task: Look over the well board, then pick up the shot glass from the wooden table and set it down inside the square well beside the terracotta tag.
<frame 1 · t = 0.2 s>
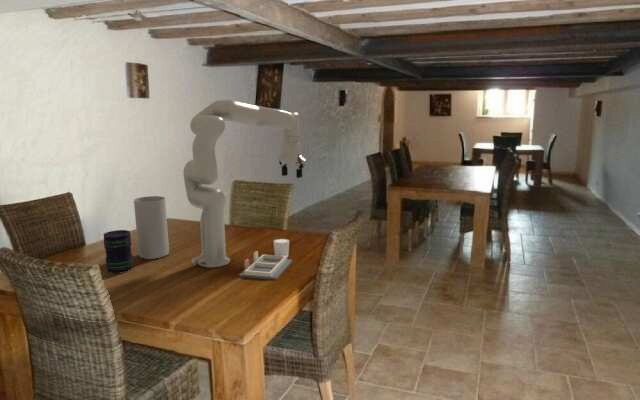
hand: (291, 176, 218), 31 cm above the table, tool pointing down, fingers open, 9 cm apart
well board: (266, 268, 185), on the table
shot glass: (281, 256, 201), on the table
cylinder vase: (154, 255, 203), on the table
storage jar: (120, 270, 185), on the table
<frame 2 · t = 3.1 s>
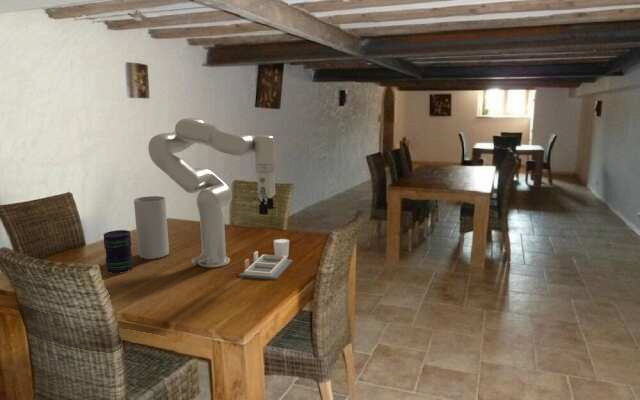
hand: (266, 211, 182), 23 cm above the table, tool pointing down, fingers open, 9 cm apart
nothing on the table moved.
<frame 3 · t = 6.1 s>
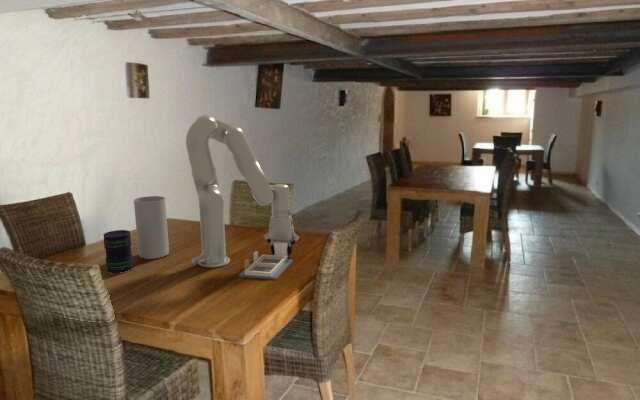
hand: (281, 253, 200), 1 cm above the table, tool pointing down, fingers closed on shot glass, 6 cm apart
shot glass: (281, 256, 201), on the table, touching gripper
everything else where it was.
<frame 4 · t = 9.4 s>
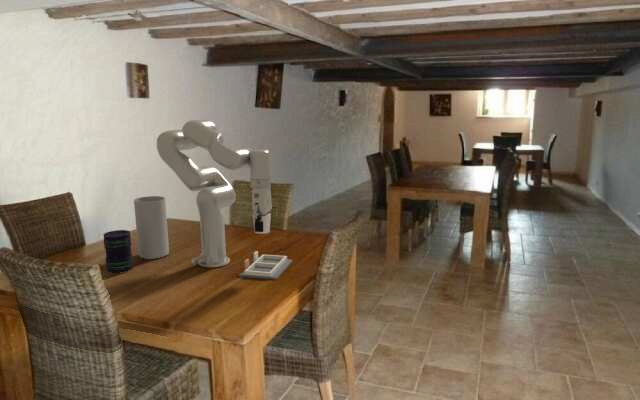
hand: (262, 228, 178), 18 cm above the table, tool pointing down, fingers closed on shot glass, 6 cm apart
shot glass: (262, 232, 178), point 16 cm above the table, touching gripper
everything else where it was.
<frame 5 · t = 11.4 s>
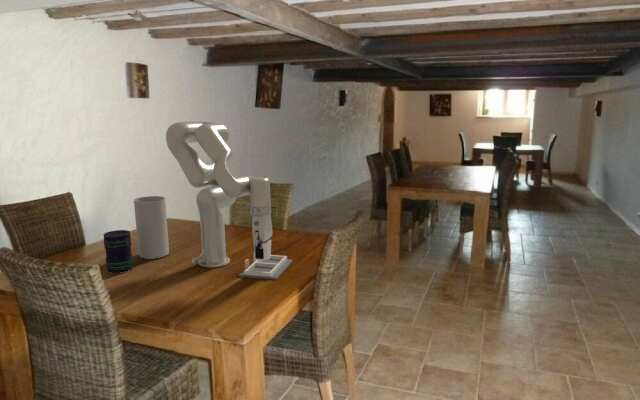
hand: (262, 255, 179), 7 cm above the table, tool pointing down, fingers closed on shot glass, 6 cm apart
shot glass: (263, 258, 179), point 6 cm above the table, touching gripper
everything else where it was.
when the fingers open (4 cm above the table, at t = 12.6 s): shot glass drops 2 cm, resting on well board.
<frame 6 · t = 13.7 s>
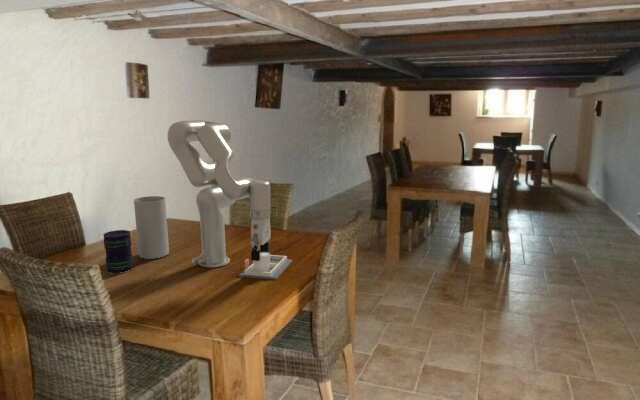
hand: (260, 256, 180), 7 cm above the table, tool pointing down, fingers open, 9 cm apart
shot glass: (261, 272, 180), point 1 cm above the table, touching gripper, well board
everything else where it was.
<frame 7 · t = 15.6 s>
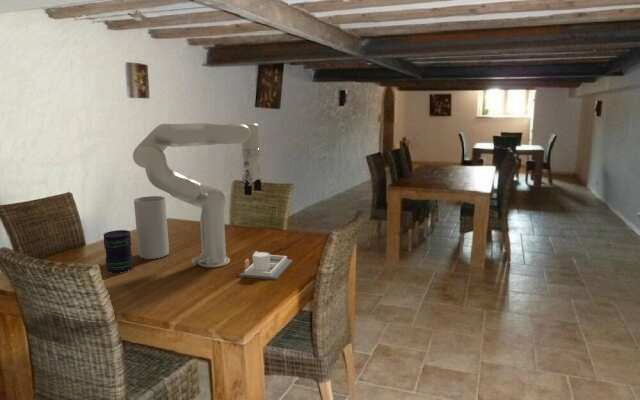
hand: (253, 192, 200), 27 cm above the table, tool pointing down, fingers open, 9 cm apart
shot glass: (261, 272, 180), point 1 cm above the table, touching well board
everything else where it was.
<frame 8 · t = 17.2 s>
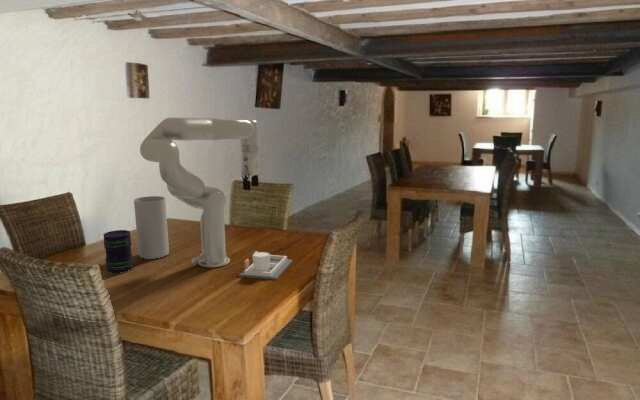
hand: (251, 187, 204), 28 cm above the table, tool pointing down, fingers open, 9 cm apart
nothing on the table moved.
at the end: shot glass 0.7 cm from the target spot on the well board, point 0.6 cm above the well board's base; shot glass tilted 0°; the gripper is holding nothing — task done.
